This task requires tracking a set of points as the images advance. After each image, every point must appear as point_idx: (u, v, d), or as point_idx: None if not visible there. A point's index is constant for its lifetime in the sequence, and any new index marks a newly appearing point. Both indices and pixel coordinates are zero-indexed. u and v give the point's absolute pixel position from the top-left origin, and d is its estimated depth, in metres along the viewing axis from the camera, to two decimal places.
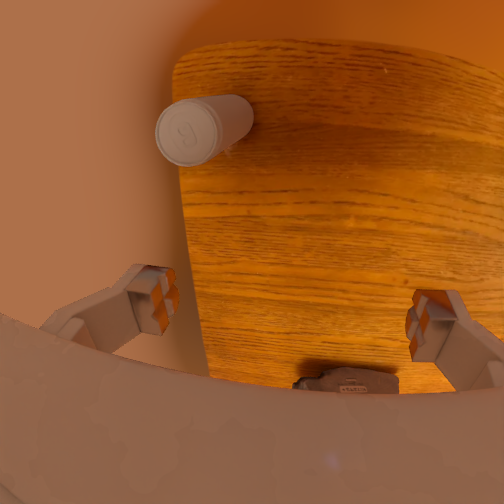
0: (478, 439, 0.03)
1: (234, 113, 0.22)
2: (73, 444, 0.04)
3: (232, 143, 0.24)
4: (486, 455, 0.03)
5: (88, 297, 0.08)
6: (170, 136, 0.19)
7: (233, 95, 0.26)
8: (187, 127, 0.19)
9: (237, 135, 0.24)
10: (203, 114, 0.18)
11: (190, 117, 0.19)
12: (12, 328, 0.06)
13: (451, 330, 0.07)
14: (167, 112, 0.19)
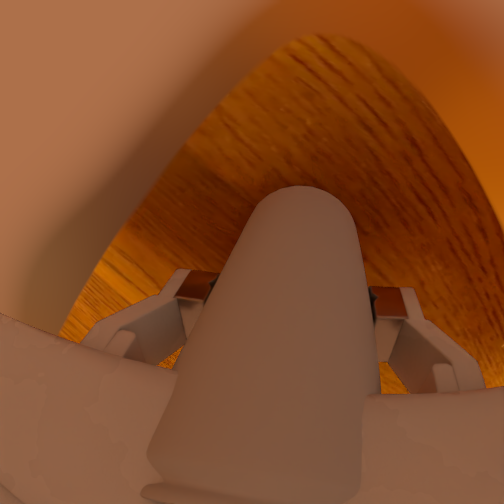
0: (478, 439, 0.03)
1: None
2: (73, 444, 0.04)
3: None
4: (486, 455, 0.03)
5: (133, 306, 0.08)
6: None
7: (355, 231, 0.11)
8: None
9: None
10: None
11: None
12: (13, 328, 0.06)
13: (401, 329, 0.07)
14: None
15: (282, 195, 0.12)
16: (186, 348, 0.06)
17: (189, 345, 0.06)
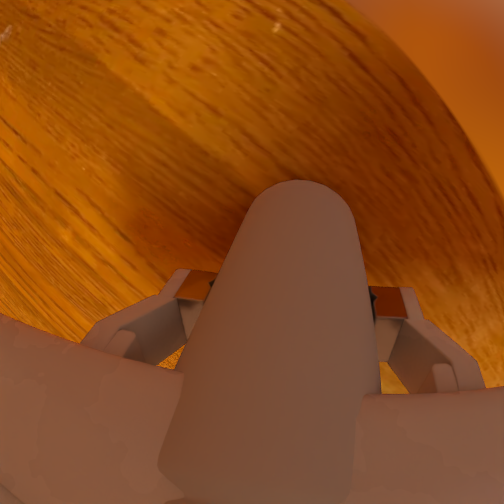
0: (478, 439, 0.03)
1: None
2: (73, 444, 0.04)
3: None
4: (486, 455, 0.03)
5: (133, 306, 0.08)
6: None
7: (355, 226, 0.11)
8: None
9: None
10: None
11: None
12: (13, 328, 0.06)
13: (401, 329, 0.07)
14: None
15: (281, 189, 0.11)
16: (186, 354, 0.06)
17: (189, 351, 0.06)
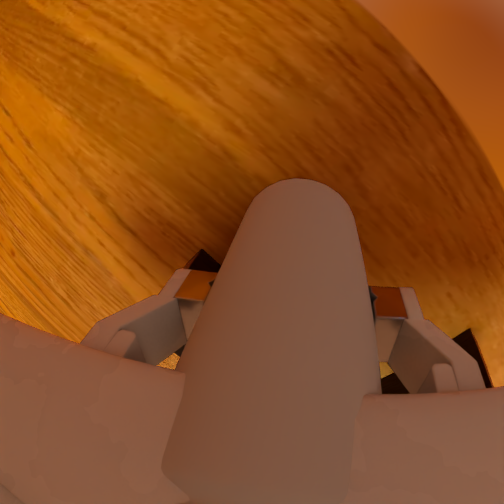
0: (478, 439, 0.03)
1: None
2: (73, 444, 0.04)
3: None
4: (486, 455, 0.03)
5: (133, 306, 0.08)
6: None
7: (354, 226, 0.11)
8: None
9: None
10: None
11: None
12: (12, 329, 0.06)
13: (401, 329, 0.07)
14: None
15: (280, 189, 0.11)
16: (186, 356, 0.06)
17: (189, 353, 0.06)
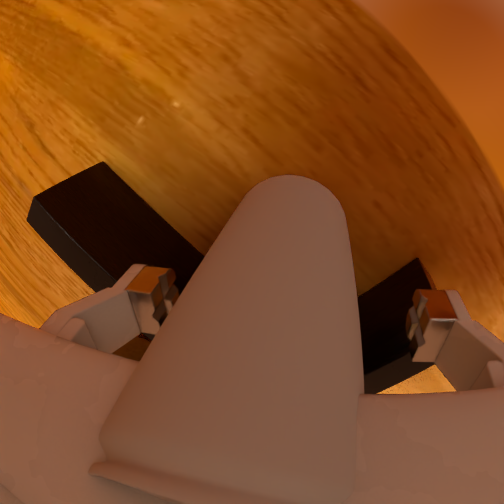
0: (478, 439, 0.03)
1: None
2: (73, 444, 0.04)
3: None
4: (486, 455, 0.03)
5: (88, 297, 0.08)
6: None
7: (344, 221, 0.11)
8: None
9: None
10: None
11: None
12: (12, 328, 0.06)
13: (451, 330, 0.07)
14: None
15: (271, 183, 0.11)
16: (161, 328, 0.06)
17: (164, 325, 0.06)
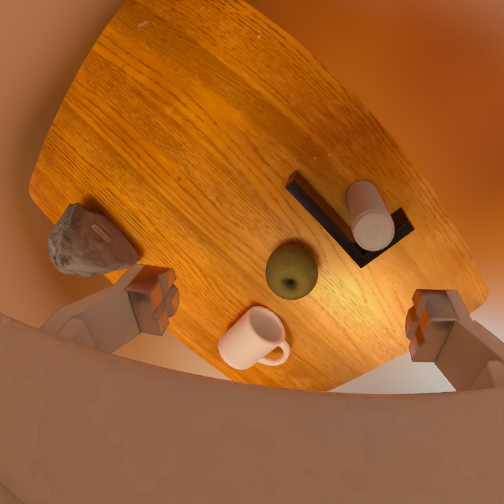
0: (478, 439, 0.03)
1: None
2: (74, 444, 0.04)
3: None
4: (486, 455, 0.03)
5: (88, 297, 0.08)
6: (367, 225, 0.31)
7: None
8: (378, 230, 0.31)
9: None
10: (390, 234, 0.31)
11: (384, 228, 0.31)
12: (12, 328, 0.06)
13: (451, 330, 0.07)
14: (379, 214, 0.30)
15: (360, 182, 0.39)
16: (357, 206, 0.34)
17: (357, 205, 0.34)
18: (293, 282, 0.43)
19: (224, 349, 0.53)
